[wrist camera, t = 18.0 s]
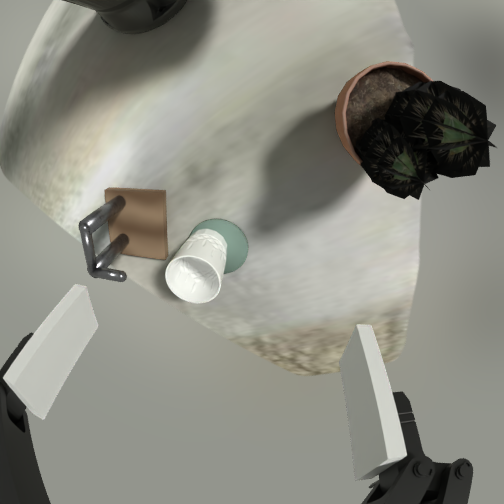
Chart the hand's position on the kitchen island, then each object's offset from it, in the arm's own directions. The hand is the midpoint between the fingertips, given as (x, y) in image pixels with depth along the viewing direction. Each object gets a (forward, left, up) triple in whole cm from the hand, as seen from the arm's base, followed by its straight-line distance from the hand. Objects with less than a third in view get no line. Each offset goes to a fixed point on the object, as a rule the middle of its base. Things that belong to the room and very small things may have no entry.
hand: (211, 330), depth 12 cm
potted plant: (-11, +15, -32) cm, 37 cm away
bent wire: (+10, -20, -30) cm, 37 cm away
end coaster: (+13, -5, -32) cm, 35 cm away
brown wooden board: (+10, -20, -32) cm, 39 cm away
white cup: (+13, -7, -31) cm, 35 cm away
